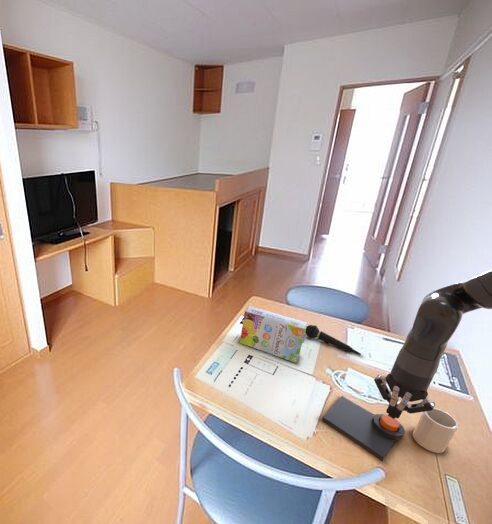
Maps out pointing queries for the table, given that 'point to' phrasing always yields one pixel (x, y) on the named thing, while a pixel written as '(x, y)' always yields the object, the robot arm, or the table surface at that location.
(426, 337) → the robot arm
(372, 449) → the scale
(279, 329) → the snack box
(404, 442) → the table surface
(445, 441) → the cup
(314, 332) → the microphone
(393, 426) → the button
